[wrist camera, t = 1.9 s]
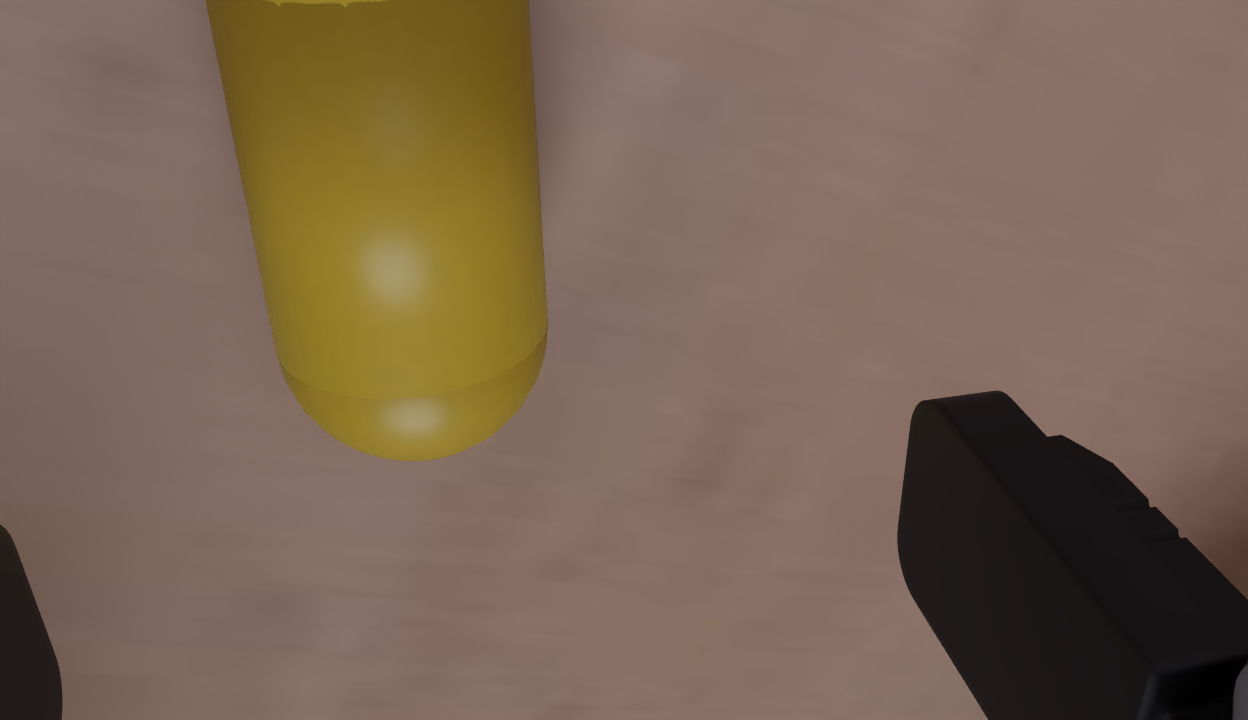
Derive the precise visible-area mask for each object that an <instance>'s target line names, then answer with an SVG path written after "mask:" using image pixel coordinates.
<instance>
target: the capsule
mask: <svg viewBox="0 0 1248 720" xmlns="http://www.w3.org/2000/svg"><path fill="white" fill-rule="evenodd" d="M206 4H207V9H208V14H209V19H210V24H211V29H212V34H213V39H214V44H215V49H216V54H217V59H218V64H219V69H220V74H221V79H222V84H223V89H224V94H225V99H226V104H227V109H228V114H229V119H230V124H231V129H232V134H233V139H234V144H235V149H236V154H237V159H238V164H239V169H240V174H241V179H242V184H243V189H244V194H245V199H246V204H247V209H248V214H249V219H250V224H251V229H252V234H253V239H254V244H255V249H256V254H257V259H258V264H259V269H260V274H261V279H262V284H263V289H264V294H265V299H266V304H267V309H268V314H269V319H270V324H271V329H272V334H273V339H274V344H275V349H276V354H277V357H278V360H279V363H280V366H281V369H282V372H283V375H284V378H285V381H286V383H287V385H288V386H289V388H290V390H291V391H292V393H293V395H294V396H295V398H296V400H297V401H298V403H299V404H300V405H301V407H302V408H303V410H304V411H305V412H306V413H307V414H308V415H309V416H310V417H311V418H312V419H313V420H314V421H315V422H316V423H317V424H318V425H319V426H320V427H321V428H322V429H323V430H324V431H326V432H327V433H328V434H330V435H331V436H332V437H334V438H335V439H337V440H339V441H341V442H343V443H344V444H346V445H348V446H350V447H352V448H354V449H356V450H358V451H360V452H362V453H366V454H369V455H373V456H377V457H381V458H386V459H392V460H400V461H425V460H434V459H438V458H443V457H447V456H451V455H454V454H456V453H459V452H462V451H464V450H466V449H468V448H470V447H472V446H474V445H476V444H478V443H480V442H482V441H484V440H486V439H487V438H489V437H490V436H491V435H493V434H494V433H496V432H497V431H498V430H499V429H500V428H501V427H502V426H503V425H504V424H505V423H506V422H507V421H508V420H509V419H510V418H511V417H512V416H513V415H514V414H515V413H516V412H517V411H518V410H519V409H520V408H521V406H522V405H523V403H524V401H525V399H526V398H527V396H528V394H529V392H530V391H531V389H532V387H533V385H534V383H535V382H536V380H537V378H538V376H539V372H540V369H541V365H542V362H543V358H544V355H545V349H546V343H547V325H548V318H547V301H546V284H545V268H544V252H543V235H542V219H541V202H540V186H539V170H538V153H537V137H536V120H535V104H534V88H533V71H532V55H531V38H530V22H529V5H528V0H206Z"/></svg>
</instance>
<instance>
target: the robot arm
mask: <svg viewBox="0 0 1248 720" xmlns="http://www.w3.org/2000/svg"><path fill="white" fill-rule="evenodd" d="M1148 500H1149V499H1148V498H1147V497H1146V496H1145V495H1144V494H1143V493H1142V492H1141V491H1140V490H1139V489H1138V488H1137V487H1136V486H1135V485H1134V484H1133V483H1132V482H1131V481H1130V480H1129V479H1128V478H1127V477H1126V476H1125V475H1124V474H1123V473H1122V472H1121V471H1120V470H1119V469H1118V468H1117V467H1116V466H1115V465H1114V464H1113V463H1111V462H1110V461H1108V460H1106V459H1104V458H1102V457H1101V456H1099V455H1097V454H1095V453H1093V452H1092V451H1090V450H1088V449H1086V448H1084V447H1083V446H1081V445H1079V444H1077V443H1075V442H1074V441H1072V440H1070V439H1068V438H1066V437H1065V436H1063V435H1057V436H1050V437H1047V436H1046V435H1045V434H1044V433H1043V432H1042V431H1041V430H1040V429H1039V428H1038V427H1037V425H1036V424H1035V423H1034V422H1033V421H1032V420H1031V419H1030V418H1029V417H1028V416H1027V415H1026V414H1025V413H1024V412H1023V410H1022V409H1021V408H1020V407H1019V406H1018V405H1017V404H1016V403H1015V402H1014V401H1013V400H1012V399H1011V398H1010V397H1009V396H1008V395H1007V394H1005V393H1003V392H1002V391H990V392H982V393H975V394H968V395H960V396H953V397H945V398H938V399H931V400H924V401H921V402H920V403H919V404H918V405H917V406H916V408H915V410H914V412H913V415H912V418H911V424H910V432H909V440H908V448H907V457H906V465H905V473H904V481H903V489H902V498H901V506H900V514H899V522H898V533H897V543H898V553H899V560H900V564H901V569H902V572H903V576H904V579H905V582H906V585H907V587H908V589H909V591H910V594H911V595H912V597H913V599H914V601H915V602H916V604H917V605H918V607H919V609H920V610H921V612H922V614H923V615H924V617H925V618H926V620H927V622H928V623H929V625H930V626H931V628H932V630H933V631H934V633H935V634H936V636H937V638H938V639H939V641H940V643H941V644H942V646H943V647H944V649H945V651H946V652H947V654H948V655H949V657H950V659H951V660H952V662H953V663H954V665H955V667H956V668H957V670H958V672H959V673H960V675H961V676H962V678H963V680H964V681H965V683H966V684H967V686H968V688H969V689H970V691H971V692H972V694H973V696H974V697H975V699H976V701H977V702H978V704H979V705H980V707H981V709H982V710H983V712H984V713H985V715H986V717H987V718H988V720H1248V600H1247V599H1246V598H1245V597H1244V596H1243V595H1242V594H1241V593H1240V592H1239V591H1238V590H1237V589H1236V588H1235V587H1234V586H1233V585H1232V584H1231V583H1230V582H1229V581H1228V580H1227V579H1226V578H1225V577H1224V576H1223V575H1222V574H1221V573H1220V571H1219V570H1218V569H1217V568H1216V567H1215V566H1214V565H1213V564H1212V563H1211V562H1210V561H1209V560H1208V559H1207V558H1206V557H1205V556H1204V555H1203V554H1202V553H1201V552H1200V551H1199V550H1198V549H1197V548H1196V547H1195V546H1194V545H1193V544H1192V543H1191V542H1190V541H1189V540H1188V539H1187V538H1180V537H1179V534H1178V529H1177V528H1176V527H1175V526H1174V525H1173V524H1172V523H1171V522H1170V521H1169V520H1168V519H1167V518H1166V517H1165V516H1164V515H1163V514H1162V513H1161V512H1160V511H1159V510H1158V509H1157V508H1156V507H1151V508H1150V506H1149V502H1148ZM0 720H62V685H61V677H60V671H59V666H58V662H57V659H56V656H55V653H54V650H53V647H52V644H51V642H50V639H49V636H48V634H47V631H46V628H45V625H44V623H43V620H42V617H41V614H40V612H39V609H38V606H37V604H36V601H35V598H34V595H33V593H32V590H31V587H30V585H29V582H28V579H27V576H26V574H25V571H24V568H23V565H22V563H21V560H20V557H19V555H18V552H17V549H16V546H15V544H14V542H13V539H12V538H11V536H10V534H9V533H8V531H7V530H6V529H5V528H4V527H3V526H2V525H0Z"/></svg>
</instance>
